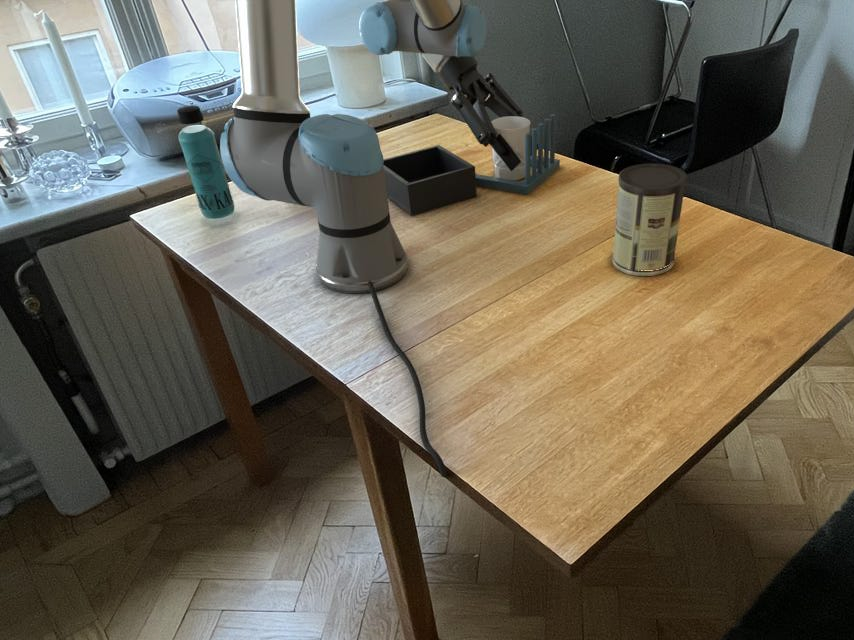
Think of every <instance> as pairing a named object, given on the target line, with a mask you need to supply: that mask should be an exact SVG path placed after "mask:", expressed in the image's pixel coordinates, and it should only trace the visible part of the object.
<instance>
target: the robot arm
mask: <svg viewBox="0 0 854 640" xmlns="http://www.w3.org/2000/svg"><path fill="white" fill-rule="evenodd" d="M234 4H235V17H236V29H237V40H238V41H237V43H238V54H239V66H240V67H239V69H240V82H241V94H240V96H239V97H238V98H237V99H236V100H235V101H234V103H232V110H233V117H232V118H230V119H229V120H228V121H227V122H226V123H225V125H224V127H223V129H224V131H222V132H221V135H220V140H219V141H220V142H219V150H220V151H219V152H220V158H221V161H222V164H223V165H224V166H223V167H224V171H225V172H226V175H227V176H228V178H229V179H230V180H231V182H232V183H233V184H234V185H235V186H236V187H237V189H239V191H241V192H243V193H244V194H247V195H249V196H253V197H257V198H258V199H261V200H263V201H274V202H275V201H276V202H281V203H286V204H292V205H297V206H303V207H309V208H313V209H314V211H315V216H316V220H317V224H318V229H319V237H318V244H317V245H318V246H317V255H316V263H315V269H316V273H317V278H318V281H319V282H320V284H321V285H322V286H324V287H325V288H327V289H328V290H331V291H334V292H338V293H342V294H343V293H345V294H364V293H370V295H371V298H372V301H373V303H374V307H375V309H376V312H377V315H378V317H379V321H380V323H381V324H380V325H381V326H382V329H383V331H384V334H385V336H386V338H387V340H388V342H389V344H390V345H391V347H392V348H393V349H394V351H395V352H396V353H397V355H398V356H399V357H400V359H401V360H402V361H403V362H404V364H405V365H406V367H407V369H408V372H409V374H410V376H411V379H412V381H413V384H414V389H415V392H416V398H417V402H418V408H419V409H418V410H419V434H420V439H421V442H422V445H423V447H424V449H425V450H426V452H428V453H429V455H430V456H431V457H432V458H433V460H434V461H435V463H436V466H437V468H438V470H439V473H440V476H441V478H447V477H448V471H447V468H446V465H445V463H444V460H443V458H442V457H441V455H440V454H439V452H437V450H436V449H435V448H434V447H433V446H432V444H431V443H430V440H429V437H428V433H427V427H426V403H425V398H424V394H423V389H422V386H421V382H420V379H419V376H418V373H417V370H416V369H415V366H414V365H413V363H412V361H411V360H410V359H409V357H408V356H407V354H406V353H405V352H404V350H403V349H401V347H400V346H399V344H398V343H397V341H396V340H395V338H394V337H393V334H392V332H391V331H390V328H389V325H388V322H387V320H386V317H385V315H384V312H383V309H382V305H381V303H380V300H379V297H378V294H377V291H380V290H383V289H385V288H388V287H391V286H392V285H394V284H396V283H398V282H399V281H401V279H403V277H405V275H406V274H407V272H408V269H409V265H408V259H407V258H408V257H407V253H406V251H405V249H404V247H403V245H402V243H401V241H400V238H399V237H398V234H397V232H396V231H395V228H394V226H393V224H392V221H391V213H390V206H389V199H388V197H387V190H386V182H385V175H384V167H383V163H384V160H383V159H384V155H383V152H382V149H381V144H380V138H379V135H378V133H377V131H376V129H375V128H374V127H373V126H372V125H371V124H370V123H369V122H367V121H365V120H364V119H362V118H359V117H357V116H354V115H349V114H345V113H344V114H343V113H335V114H329V113H322V114H317V115H314V116H311V110H310V109H309V108H308V106H307V105H306V104H305V103H304V101H303V100H302V98H301V94H300V91H301V90H300V71H299V69H300V68H299V50H298V49H299V45H298V43H299V42H298V18H297V0H234ZM358 28H359V29H358V30H359V36H360V39H361V41H362V43H363V45H364V46H365V49H367V50H368V51H369V52H370V53H372V54H373V55H376V56H383V55H390V54H392V53H393V52H401V53H402V52H403V53H413V54H420V55H421V56H422V57H423V58H424V60H425V61H426V62H427V64H428V65H429V66H430V68H431V69H432V71H433V72H434V73H438V79H439V80H440V81H441V83H442V84H443V85H444V86H445V88H446V89H447V90H448V91H449V92H453V91H455V94H454V95H453V96H452V98H451V99H450V103H451V105H453V106H454V108H455V109H456V110H457V111H458V112H459V114H460V116H461V117H462V118H463V120H464V122H465V123H466V125H467V126H468V128H469V130H470V131H471V133H472V134H473V136H474V137H475V139H476V141H477V142H478V143H479V144H480V145H483V147H486V148H487V147H488V146H489V145H490V147H491V149H492V148H493V149H494V150H495V152H496V153H497V154H498V155H499V156H500V157H501V159H502V160H503V161H504V163H505V164H506V165H507V167H508V168H509V169H510V171H513V170H514V169H515V168H516V167H517V166H518V165H519V164H520V163H521V160H520V159H519V158H518V156H517V155H516V154H515V152H514V151H513V150H512V148H511V147H510V146H509V144H508V143H507V142H506V140H505V139H504V138H503V137H502V135H501V134H499V135H498V136H497V133H496V131H495V129H494V127H493V124H492V122H491V121H492V120H491V118H490V115H489V113H488V112H487V109H486V108H488V109H489V110H490V111H492V112H493V113H494V114H495V115H496V116H497V117H498V118H500V117H507V116H518V117H523V118H524V115H523V114H524V113H523V110H522V109H521V108H520V107H519V106H518V105H517V103H516V102H515V101H514V100H513V98H512V97H511V96H510V95H509V94H508V92H506V91H505V90H504V89H503V87H502V85H500V84H499V83H498V81H497V80H496V78H495V76H494V75H493V73H491V72H489V73H488V74H487V75H486V76H483V75H482V74H481V73H480V72H479V71H478V70H477V67H478V63H479V62H478V60H477V58H476V56H478V55H479V54H480V53H481V52H482V50H483V47H484V44H485V42H486V38H487V20H486V15H485V13H484V11H483V10H482V9H481V8H480V7H479V6H476V5H471V3H468V4H464V2H463V0H383V1H382V2H375V3H373V4H372V5H370V6H368V7H367V8H365V9H364V10H363V12H362V13H361V15H360V18H359V23H358ZM496 136H497V137H496ZM537 151H538V143H537ZM531 156H532V135H531Z"/></svg>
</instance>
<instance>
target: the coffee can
mask: <svg viewBox="0 0 854 640" xmlns="http://www.w3.org/2000/svg"><path fill="white" fill-rule="evenodd" d="M687 181H688V175H687V173H686V172H685V171H684V170H683V169H681V168H679V167H677V166H674V165H670V164H664V163H651V162H650V163H649V162H648V163H639V164H634V165H630V166H628V167H626V168H623V169H622V170H621V171H620V172H619V174H618V189H617V190H618V191H617V201H616V202H617V203H616V216H615V229H614V237H613V238H614V240H613V252H612V258H611V263H612V265H613V267H614V268H616V269H617V270H618V271H620V272H622V273H624V274H626V275H631V276H635V277H636V276H637V277H653V276H659V275H661V274H664V273H667V272H669V271H670V270H671V269H672V268H673V267H674V265H675V254H676V248H677V242H678V234H679V227H680V221H681V214H682V207H683V200H684V195H685V194H684V193H685V188H686V184H687ZM615 261H616V262H615ZM672 261H673V262H672ZM671 262H672V263H671ZM670 263H671V264H670ZM669 264H670V265H669ZM667 265H669V266H667ZM665 266H667V267H665ZM664 267H665V268H664ZM628 268H629V269H628ZM660 268H662V269H660ZM656 269H659V270H656ZM638 270H639V271H638ZM641 270H643V271H641ZM644 270H653V271H644Z"/></svg>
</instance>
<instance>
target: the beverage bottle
mask: <svg viewBox="0 0 854 640" xmlns="http://www.w3.org/2000/svg"><path fill="white" fill-rule="evenodd" d="M176 112H177V116H178V121H179V123H180V124H182V125H187V126H186V127H184V128H182V129H181V131H180V132H179V134H178V136H177V137H178V138H177V139H178V141H179V144H180V147H181V151H182V153H183V156H184V159H185V164H186V168H187V171H188V173H189V178H190V181H191V186H192V187H193V189H194V191H193V192H194V194H195V197H196V202H197V204H198V208H199V211H200V213H201V214H202V216H203V217H204V218H205V219H210V220H216V219H222V218H223V219H224V218H227V217H228V216H230V215H232V214H233V213H234V212H235V207H236V206H235V203H234V199H233V196H232V191H231V188H230V184H229V181H228V178H227V172H226V170H225V167H224V165H223V161H222V157H221V153H220V151H219V148H218V144H217V141H216V137H215V132H214V131H213V130H212V129H211V128H209V127H208V126H206V125H204V124H199V123H201V122H203V121H204V119H205V118H204V116H203V113H202V110H201V108H200V106H198V105H196V104H195V105H193V104H192V105H184V106H181V107H179V108H177V111H176ZM197 123H198V124H197Z"/></svg>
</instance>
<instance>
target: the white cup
mask: <svg viewBox="0 0 854 640" xmlns="http://www.w3.org/2000/svg"><path fill="white" fill-rule="evenodd" d="M491 122H492V124H493V127H494V129H495V131H496V133H497V136H498V135H499V134H501V135H502V137H503V138H504V139H505V140H506V142H507V143H508V144H509V146H510V147H511V148H512V150H513V151H514V152H515V154H516V155H517V156H518V158H519V159H520V160H521V163H520V164H519V165H518V166H517V167H516V168H515V169H514V170H513V171H510V169H509V168H508V167H507V165H506V164H505V163H504V161H503V160H502V159H501V157H500V156H499V155H498V154H497V153H496V152H495V150H494V149H493V148H492V147H491V153H492V163H493V173H494V177H496V178H502V179H508V180H514V181H520V180H522V179H525V134H526V133H530V134H531V121H530V119H528V118H527V117H524V116H523V117H518V116H507V117H497V118H494V119H493V120H491ZM497 136H496V137H497Z"/></svg>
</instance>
